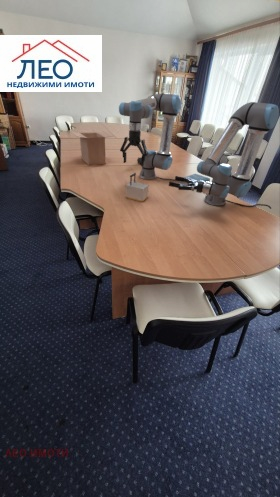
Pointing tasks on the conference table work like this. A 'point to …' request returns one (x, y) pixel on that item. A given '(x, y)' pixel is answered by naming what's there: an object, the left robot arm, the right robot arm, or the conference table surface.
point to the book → (197, 178)
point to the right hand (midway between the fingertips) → (172, 180)
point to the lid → (136, 183)
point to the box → (92, 146)
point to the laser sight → (139, 159)
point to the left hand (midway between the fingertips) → (133, 164)
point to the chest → (136, 193)
